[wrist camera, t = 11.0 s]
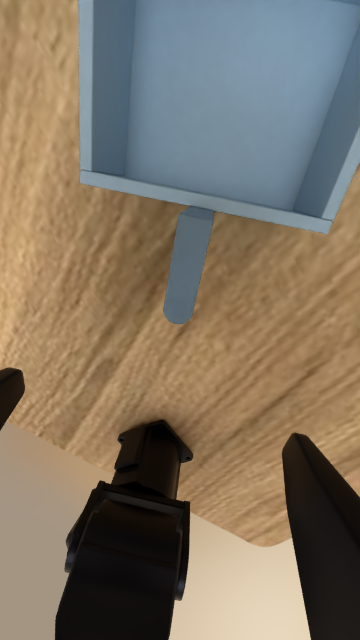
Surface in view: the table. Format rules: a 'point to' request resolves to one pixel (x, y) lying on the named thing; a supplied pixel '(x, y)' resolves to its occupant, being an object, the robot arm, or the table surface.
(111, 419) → the table surface
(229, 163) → the drawer
